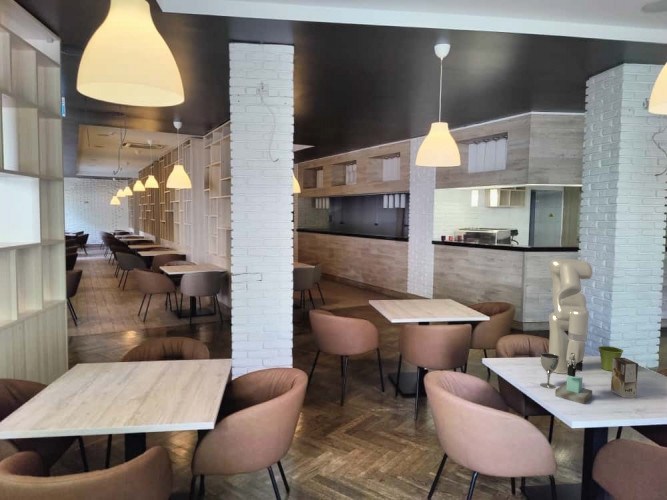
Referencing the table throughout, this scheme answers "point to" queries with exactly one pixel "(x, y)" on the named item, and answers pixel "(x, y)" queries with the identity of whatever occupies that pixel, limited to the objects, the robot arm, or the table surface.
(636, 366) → the coffee box
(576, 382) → the teal block
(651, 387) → the table surface
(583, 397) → the base block
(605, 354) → the plant pot
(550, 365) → the wine glass
